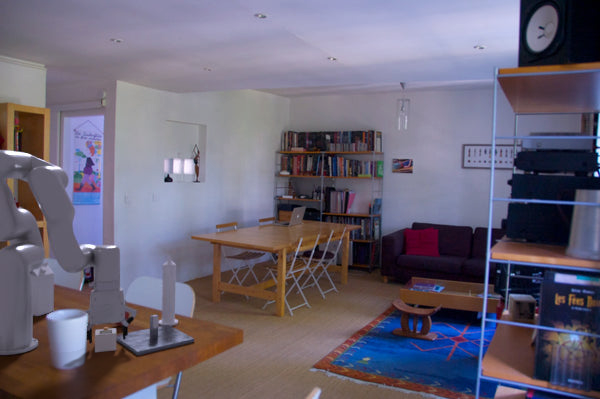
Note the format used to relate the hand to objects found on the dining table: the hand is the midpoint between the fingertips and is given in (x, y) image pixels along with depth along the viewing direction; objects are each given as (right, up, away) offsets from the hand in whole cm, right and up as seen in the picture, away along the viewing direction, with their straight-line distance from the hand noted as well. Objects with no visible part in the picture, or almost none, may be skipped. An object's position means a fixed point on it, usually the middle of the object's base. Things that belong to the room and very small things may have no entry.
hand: (107, 340), depth 146 cm
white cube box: (-1, -2, 0) cm, 2 cm away
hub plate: (+12, -3, +8) cm, 15 cm away
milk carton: (-40, 0, +33) cm, 52 cm away
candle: (+12, -2, +26) cm, 29 cm away
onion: (-4, -2, +21) cm, 22 cm away
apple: (-11, -1, +34) cm, 36 cm away
